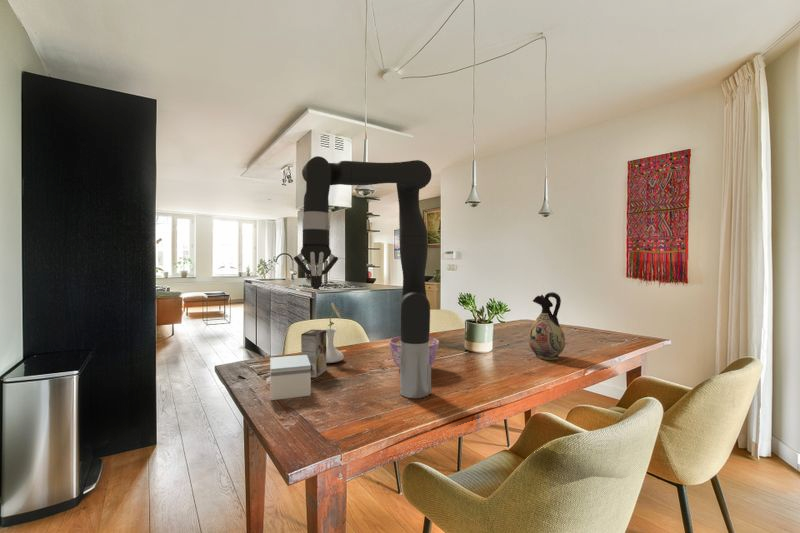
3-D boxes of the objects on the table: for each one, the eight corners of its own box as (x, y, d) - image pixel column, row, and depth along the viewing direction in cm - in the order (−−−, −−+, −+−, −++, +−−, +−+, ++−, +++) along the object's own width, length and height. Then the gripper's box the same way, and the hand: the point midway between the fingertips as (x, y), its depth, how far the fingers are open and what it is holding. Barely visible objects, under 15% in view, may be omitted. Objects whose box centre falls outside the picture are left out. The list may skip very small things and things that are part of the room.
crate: (306, 384, 125) (306, 358, 125) (310, 395, 115) (310, 367, 114) (270, 388, 121) (270, 361, 121) (270, 400, 110) (270, 371, 110)
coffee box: (311, 369, 142) (311, 329, 142) (326, 370, 141) (327, 329, 141) (300, 376, 133) (300, 333, 133) (316, 377, 132) (317, 334, 132)
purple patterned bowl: (385, 376, 134) (385, 345, 134) (392, 361, 154) (392, 334, 154) (438, 378, 132) (439, 347, 132) (439, 363, 152) (439, 336, 152)
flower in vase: (341, 365, 148) (341, 304, 148) (313, 365, 148) (314, 304, 148) (346, 357, 161) (346, 301, 161) (321, 356, 161) (321, 301, 161)
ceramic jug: (521, 357, 163) (522, 291, 163) (537, 351, 174) (538, 289, 173) (559, 365, 151) (560, 294, 150) (574, 358, 161) (575, 292, 161)
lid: (306, 356, 125) (306, 354, 125) (310, 367, 115) (310, 365, 115) (270, 359, 121) (270, 357, 121) (270, 370, 110) (270, 369, 110)
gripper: (336, 230, 109) (336, 287, 109) (291, 229, 104) (291, 288, 105) (341, 228, 102) (341, 289, 102) (293, 226, 97) (293, 290, 98)
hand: (315, 288), depth 104 cm, fingers closed
